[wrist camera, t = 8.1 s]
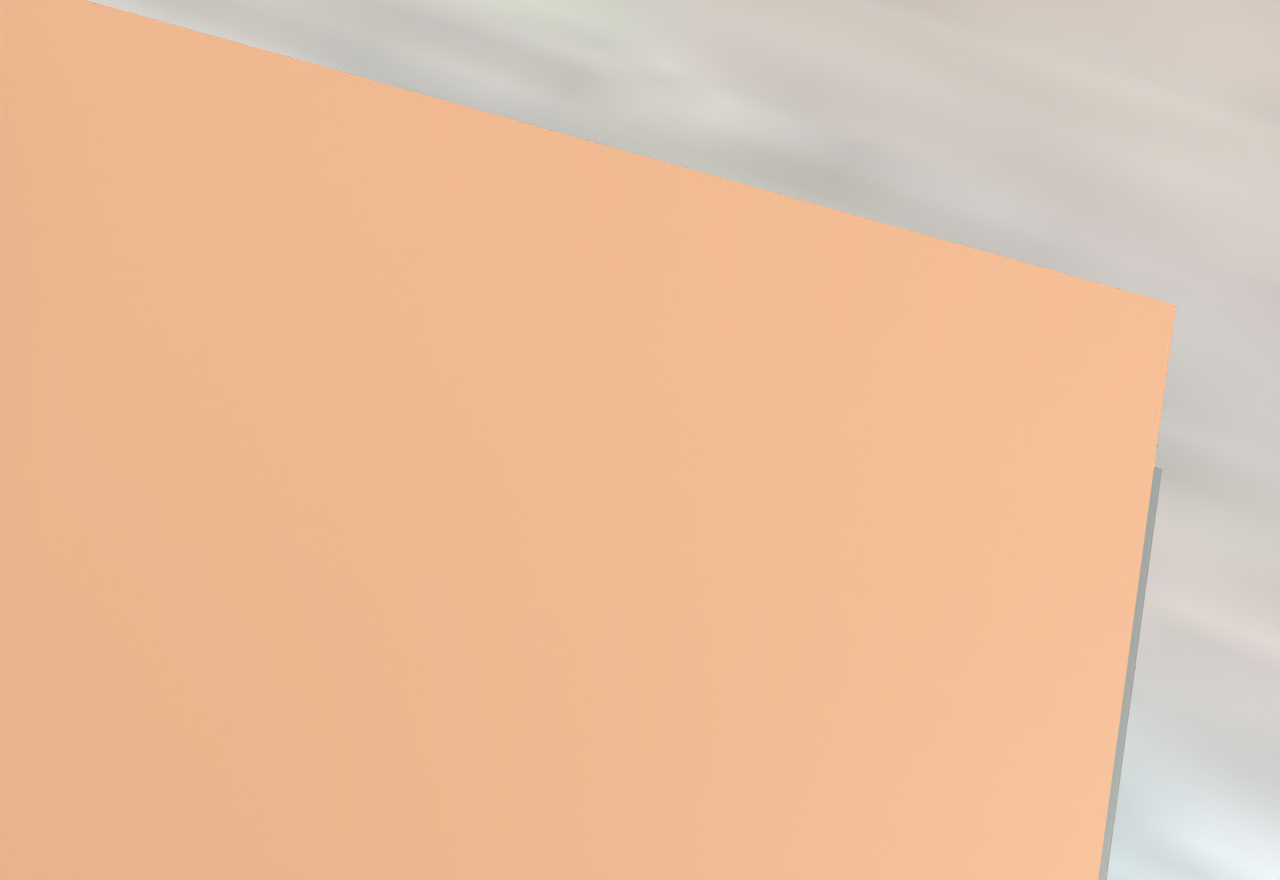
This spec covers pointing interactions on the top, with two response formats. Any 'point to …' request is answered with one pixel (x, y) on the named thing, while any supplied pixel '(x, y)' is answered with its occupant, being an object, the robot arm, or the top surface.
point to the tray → (1130, 674)
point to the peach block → (529, 499)
